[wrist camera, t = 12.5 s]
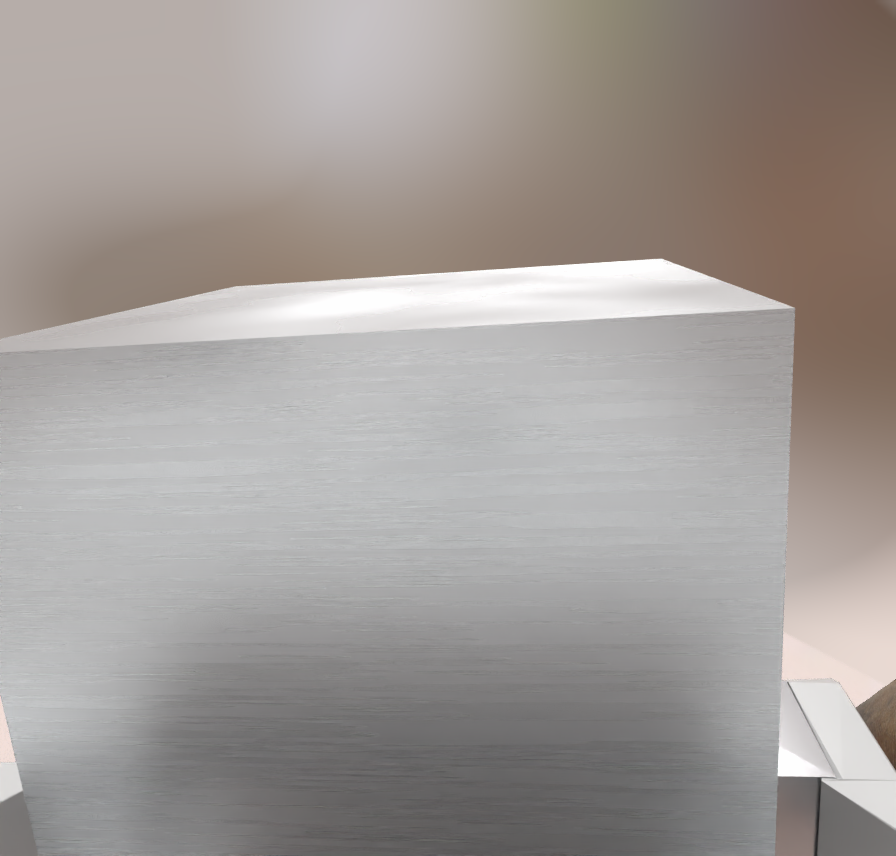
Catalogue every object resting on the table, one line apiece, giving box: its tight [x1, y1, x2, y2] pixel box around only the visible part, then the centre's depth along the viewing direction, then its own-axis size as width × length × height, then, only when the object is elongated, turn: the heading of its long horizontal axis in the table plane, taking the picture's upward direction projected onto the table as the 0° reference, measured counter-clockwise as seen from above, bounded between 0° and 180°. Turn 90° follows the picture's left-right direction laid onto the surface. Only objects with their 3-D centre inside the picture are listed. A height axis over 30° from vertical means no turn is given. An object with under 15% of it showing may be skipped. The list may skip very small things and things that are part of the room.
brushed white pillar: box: [0, 259, 795, 856], centre depth 8 cm, size 5×5×11 cm
